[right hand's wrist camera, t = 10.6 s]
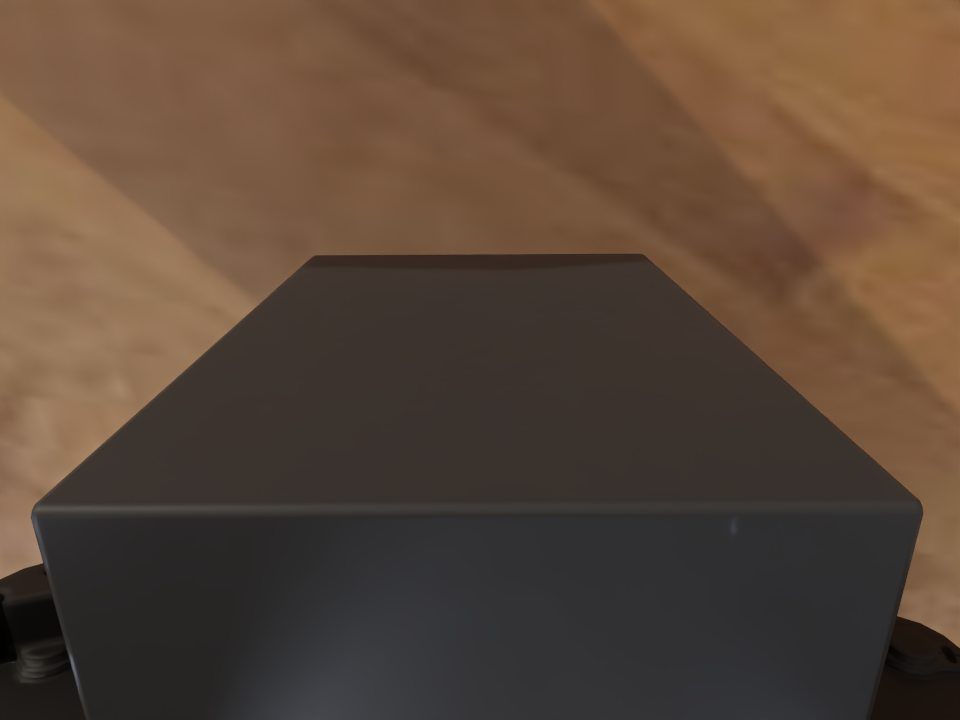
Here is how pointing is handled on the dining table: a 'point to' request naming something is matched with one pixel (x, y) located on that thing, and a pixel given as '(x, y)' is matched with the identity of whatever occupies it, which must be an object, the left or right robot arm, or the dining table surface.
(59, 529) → the charcoal box
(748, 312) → the dining table surface
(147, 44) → the dining table surface
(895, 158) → the dining table surface
